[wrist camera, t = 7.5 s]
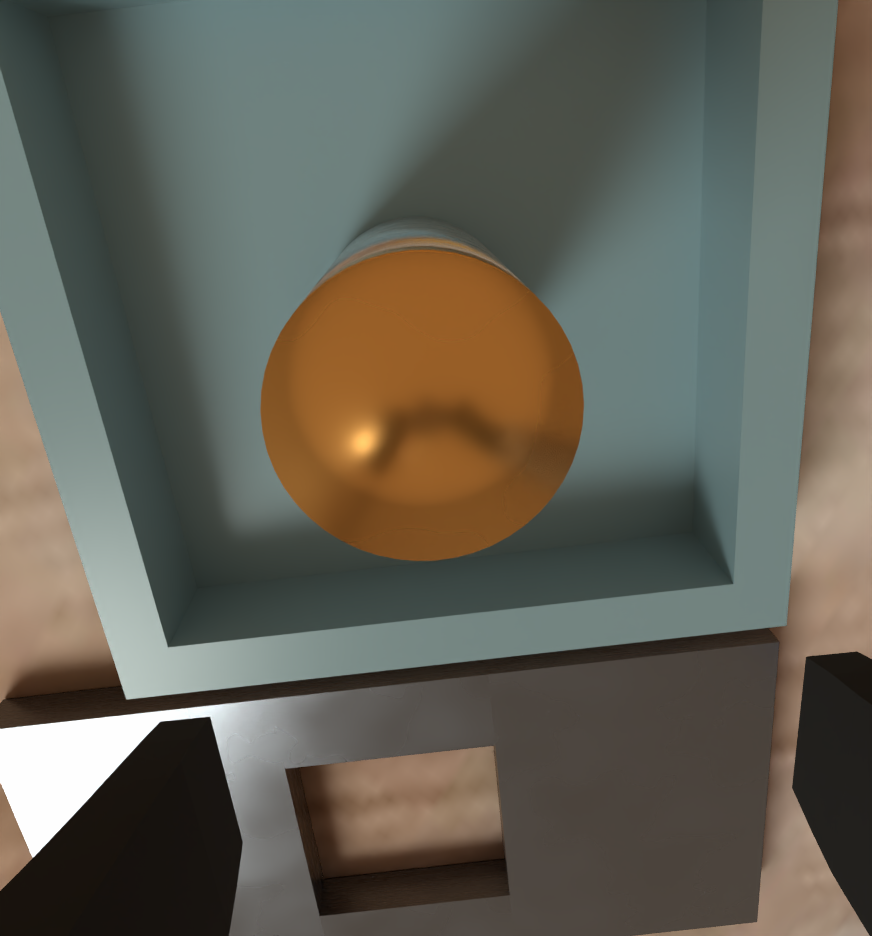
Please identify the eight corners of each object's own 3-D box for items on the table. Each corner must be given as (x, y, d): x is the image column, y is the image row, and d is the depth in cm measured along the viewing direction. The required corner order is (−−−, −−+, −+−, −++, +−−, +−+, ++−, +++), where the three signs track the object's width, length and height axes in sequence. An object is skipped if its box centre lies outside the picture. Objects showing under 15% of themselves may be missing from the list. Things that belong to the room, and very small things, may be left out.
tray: (763, -137, 14) (856, -216, 11) (730, 558, 19) (786, 625, 16) (-24, -45, 14) (-134, -100, 11) (167, 621, 19) (126, 699, 16)
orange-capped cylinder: (507, 208, 15) (584, 237, 9) (514, 399, 17) (584, 548, 10) (309, 224, 15) (234, 266, 9) (334, 414, 16) (286, 572, 10)
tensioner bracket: (757, 614, 20) (779, 642, 18) (740, 885, 23) (757, 922, 22) (2, 699, 20) (-21, 731, 19) (105, 956, 23) (91, 995, 22)
